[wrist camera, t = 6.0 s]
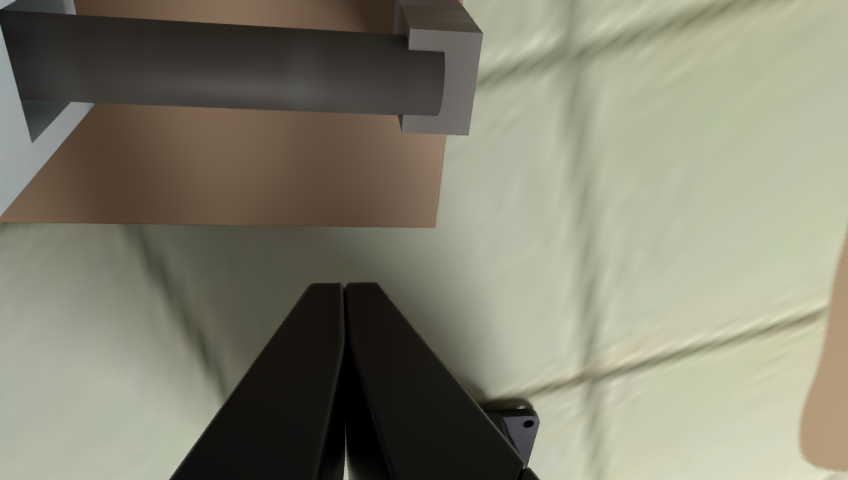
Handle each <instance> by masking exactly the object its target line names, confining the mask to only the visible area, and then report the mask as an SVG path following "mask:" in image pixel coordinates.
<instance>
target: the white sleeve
mask: <svg viewBox="0 0 848 480" xmlns="http://www.w3.org/2000/svg"><path fill="white" fill-rule="evenodd" d="M0 10H9V11H25V12H42V13H58V14H74V15H76V11H75V6H74V1H73V0H0ZM93 106H94V103H82V102H58V101H33V100H20V97H19V93H18V90H17V86H16V82H15V79H14V75H13V71H12V67H11V64H10V60H9V56H8V52H7V49H6V45H5V41H4V37H3V34H2V30H1V26H0V216H1V215H2V214H3V213H4V212H5V210H6V209H7V208H8V207H9V206H10V205H11V203H12V202H13V201H14V200H15V199H16V197H17V196H18V195H19V194H20V193H21V191H22V190H23V189H24V188H25V187H26V185H27V184H28V183H29V182H30V181H31V180H32V178H33V177H34V176H35V175H36V174H37V172H38V171H39V170H40V169H41V168H42V166H43V165H44V164H45V163H46V162H47V161H48V159H49V158H50V157H51V156H52V155H53V153H54V152H55V151H56V150H57V149H58V147H59V146H60V145H61V144H62V143H63V142H64V140H65V139H66V138H67V137H68V136H69V134H70V133H71V132H72V131H73V130H74V128H75V127H76V126H77V125H78V124H79V123H80V121H81V120H82V119H83V118H84V117H85V115H86V114H87V113H88V112H89V111H90V109H91V108H92V107H93Z"/></svg>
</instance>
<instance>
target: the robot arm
mask: <svg viewBox="0 0 848 480" xmlns="http://www.w3.org/2000/svg"><path fill="white" fill-rule="evenodd" d="M538 427H539V418H538V415H537V413H536V411H534V410H532V409H511V410H482V409H481V408H480V406H479V405H478V404H477V403H476V401H475V400H474V399H473V398H472V397H471V395H470V394H469V393H468V392H467V391H466V389H465V388H464V387H463V386H462V384H461V383H460V382H459V381H458V380H457V378H456V377H455V376H454V375H453V373H452V372H451V371H450V370H449V369H448V367H447V366H446V365H445V364H444V362H443V361H442V360H441V359H440V358H439V356H438V355H437V354H436V353H435V351H434V350H433V349H432V348H431V347H430V345H429V344H428V343H427V342H426V340H425V339H424V338H423V337H422V336H421V334H420V333H419V332H418V331H417V330H416V328H415V327H414V326H413V325H412V323H411V322H410V321H409V320H408V319H407V317H406V316H405V315H404V314H403V312H402V311H401V310H400V309H399V308H398V306H397V305H396V304H395V303H394V301H393V300H392V299H391V298H390V297H389V295H388V294H387V293H386V292H385V290H384V289H383V288H382V287H381V286H380V285H379V284H378V283H376V282H353V283H348V284H347V285H346V286H345V290H344V286H343V284H341V283H312V284H311V285H309V287H308V288H307V289H306V291H305V292H304V293H303V295H302V296H301V297H300V299H299V300H298V302H297V303H296V304H295V306H294V307H293V309H292V310H291V311H290V313H289V314H288V315H287V317H286V318H285V320H284V321H283V322H282V324H281V325H280V327H279V328H278V329H277V331H276V332H275V334H274V335H273V336H272V338H271V339H270V340H269V342H268V343H267V345H266V346H265V347H264V349H263V350H262V352H261V353H260V354H259V356H258V357H257V358H256V360H255V361H254V363H253V364H252V365H251V367H250V368H249V370H248V371H247V372H246V374H245V375H244V376H243V378H242V379H241V381H240V382H239V383H238V385H237V386H236V388H235V389H234V390H233V392H232V393H231V395H230V396H229V397H228V399H227V400H226V401H225V403H224V404H223V406H222V407H221V408H220V410H219V411H218V413H217V414H216V415H215V417H214V418H213V419H212V421H211V422H210V424H209V425H208V426H207V428H206V429H205V431H204V432H203V433H202V435H201V436H200V438H199V439H198V440H197V442H196V443H195V444H194V446H193V447H192V449H191V450H190V451H189V453H188V454H187V456H186V457H185V458H184V460H183V461H182V462H181V464H180V465H179V467H178V468H177V469H176V471H175V472H174V474H173V475H172V476H171V478H170V479H169V480H343V476H344V464H345V430H346V457H347V467H348V475H349V480H540V479H539V478H538V477H537V476H536V474H535V473H534V472H533V471H532V469H531V468H529V467H527V465H528V462H529V458H530V455H531V451H532V448H533V444H534V441H535V437H536V434H537V430H538Z"/></svg>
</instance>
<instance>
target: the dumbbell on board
mask: <svg viewBox="0 0 848 480" xmlns="http://www.w3.org/2000/svg"><path fill="white" fill-rule="evenodd" d="M73 1H74V6H75V11H76V15H74V14H58V13H42V12H25V11H9V10H0V26H1V30H2V34H3V37H4V41H5V45H6V49H7V52H8V56H9V60H10V64H11V67H12V71H13V75H14V79H15V82H16V86H17V90H18V93H19V97H20V100H33V101H58V102H82V103H94V106H93V107H92V108H91V109H90V111H89V112H88V113H87V114H86V115H85V117H84V118H83V119H82V120H81V121H80V123H79V124H78V125H77V126H76V127H75V128H74V130H73V131H72V132H71V133H70V134H69V136H68V137H67V138H66V139H65V140H64V142H63V143H62V144H61V145H60V146H59V147H58V149H57V150H56V151H55V152H54V153H53V155H52V156H51V157H50V158H49V159H48V161H47V162H46V163H45V164H44V165H43V166H42V168H41V169H40V170H39V171H38V172H37V174H36V175H35V176H34V177H33V178H32V180H31V181H30V182H29V183H28V184H27V185H26V187H25V188H24V189H23V190H22V191H21V193H20V194H19V195H18V196H17V197H16V199H15V200H14V201H13V202H12V203H11V205H10V206H9V207H8V208H7V209H6V210H5V212H4V213H3V214H2V215H1V216H0V222H23V223H102V224H181V225H260V226H339V227H419V228H435V225H436V217H437V209H438V201H439V192H440V184H441V176H442V168H443V160H444V151H445V143H446V135H469V128H470V121H471V114H472V107H473V100H474V93H475V86H476V79H477V72H478V65H479V58H480V51H481V44H482V37H483V33H482V31H481V30H480V29H479V27H478V26H477V25H476V23H475V22H474V20H473V19H472V18H471V16H470V15H469V14H468V12H467V11H466V10H465V8H464V7H463V6H462V4H463V0H73Z"/></svg>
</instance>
